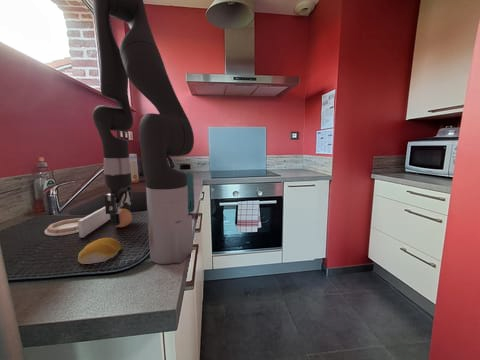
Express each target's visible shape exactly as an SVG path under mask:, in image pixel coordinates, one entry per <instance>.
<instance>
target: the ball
mask: <svg viewBox="0 0 480 360" xmlns="http://www.w3.org/2000/svg"><path fill="white" fill-rule="evenodd" d="M119 218H120V224H119V225H118V226H116V227H117V228H123V227H127V226H128V225H130V224H131V222H132V219H133V215H132V212H131V210H130V211H128V210H127V209H123V208H120V210H119Z"/></svg>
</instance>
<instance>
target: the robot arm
mask: <svg viewBox="0 0 480 360" xmlns="http://www.w3.org/2000/svg"><path fill="white" fill-rule="evenodd" d="M91 3H92V10H93V16H94V17H93V19H94V26H95V32H96V33H95V34H96V39H97V45H98V53H99V55H98V56H99V64H100V65H99V73H100V74H99V76H100V77H99V84H100V85H99V87H100V88H99V89H100V93H101V95H103V96H104V97H105V98H108V99H111V100H114V101H115V102H116V104H117V106H109V105H102V104H101V105H97V106H96V107H95V108H94V109H93V111H92V120H93V122H94V125H95V127H96V129H97V132H98V135H99V138H100V140H101V144H102V152H103V153H102V154H103V179H104V186H105V188H107V189H110V193H107V194H104V204H105V205H104V207H105V209H106V214H110V223H111V226H113V227H117V226H118V225H119V224H120V218H119V210H120V209H127V210H128V211H130V212H131V205H132V203H133V190H132V185H133V183H132V178H131V164H130V159H129V154H130V151H129V150H130V147H129V142H128V140H126V139H124V138H119V137H117V136H115V135H113V133H112V131H114V132H115V131H118V132H128V131H130V130H131V128H133V124H134V115H133V113H132V112H133V111H132V109H131V105H130V104H131V103H130V99H129V95H128V94H129V92H128V91H129V81H130V82H131V84H133V86H134V87H135V88H136V89H137V91H139V92H140V93H141V94H142V95H143V96H144V97H145V98H146V99H147V100H148V101H149V102H150V103H151V104H152V105H153V106H154V108H155V109H156V111H157V112H158V113H153V112H152V113H146V114H144V115H143V116H142V118H141V119H140V122H139V128H138V136H139V138H138V139H139V145H140V146H139V148H140V154H141V155H140V157H141V164H142V173H143V176H144V180H145V194H146V214H147V228H148V242H149V245H148V246H149V257H150V261H151V262H152V263H156V264H158V265H159V264H160V265H169V264H174V263H176V264H181V263H182V262H183V261H185V260H186V258H187V257H188V256H190V255H191V253H192V252H194V249H193V248H194V244H193V243H194V241H193V238H194V236H193V217H192V215H191V214H189V213H188V186H187V175H186V174H185V173H184V172H185V171H182V170H177V169H174V168H172V167H171V166H170V165H169V163H168V159H167V158H168V157H182V156H187V155H189V154H190V153H191V152H192V151H193V149H194V144H195V136H194V135H195V134H194V131H193V128H192V124H191V123H190V119H189V118H188V116H187V114H186V112H185V110H184V108H183V106H182V104H181V103H180V100H179V99H178V96H177V94H176V92H175V90H174V87H173V85H172V82H171V80H170V77H169V75H168V73H167V69H166V66H165V64H164V61H163V58H162V55H161V53H160V50H159V48H158V45H157V44H156V41H155V38H154V35H153V31H152V30H151V27H150V24H149V20H148V16H147V11H146V7H145V3H144V0H91ZM111 17H113V18H115V19H117V20H120V21H122V22H124V23H126V24H127V25H128V27H129V30H128V32H127V33H126V34H125V35H124V36H123V38H122V40H121V42H120V46H118V43H117V41H116V38H115V36H114V33H113V30H112V26H111V25H112V24H111Z"/></svg>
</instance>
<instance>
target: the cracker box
mask: <svg viewBox="0 0 480 360" xmlns="http://www.w3.org/2000/svg"><path fill="white" fill-rule="evenodd" d="M129 159H130V164H131V178H132V184H137V183H139V182H140V179H139V170H138V169H139V168H138V155H137V153H129Z"/></svg>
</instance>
